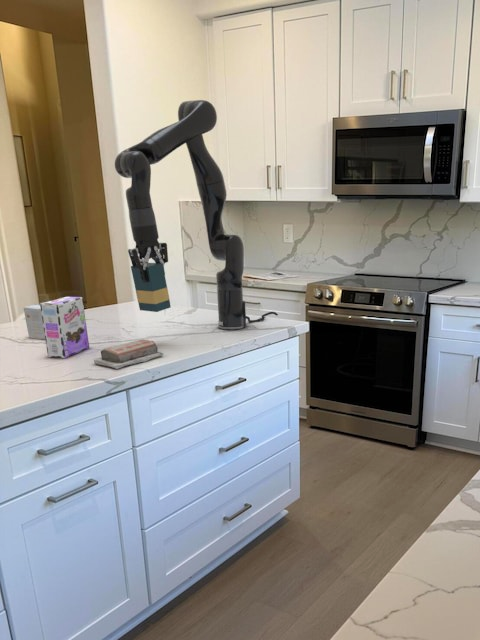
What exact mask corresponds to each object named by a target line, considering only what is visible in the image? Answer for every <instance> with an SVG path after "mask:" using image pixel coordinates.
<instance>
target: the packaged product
mask: <svg viewBox="0 0 480 640" xmlns="http://www.w3.org/2000/svg"><path fill="white" fill-rule="evenodd" d="M163 355H164V352H161V351H159V348H158V346H157V344H156V342H155V341H154V340H149V339H139V340H134V341H130V342H126V343H122V344H118V345H114V346H109V347H105V348H102V349H101V350H100V356H101V357H97V358H94V359H93V363H94V365H99V366H104V367H108V368H113V369H116V370H119V369H122V368H124V367H127V366H131V365H135V364H138V363H144V362H148V361H150V360H153V359H157V358H160V357H162V356H163Z"/></svg>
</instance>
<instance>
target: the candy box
mask: <svg viewBox="0 0 480 640" xmlns="http://www.w3.org/2000/svg"><path fill="white" fill-rule="evenodd" d="M39 305H40V307H41V313H42V320H43V327H44V334H45V346H46V352H47V357H48V358H56V359H57V358H58V359H66V358H68V357H71V356H74V355H76V354H79V353H81V352H83V351H86V350H88V349H90V344H89V336H88V328H87V321H86V315H85V307H84V298H83V297H82V296H64V297H60V298H57V299H53V300H48V301H45V302H44V301H43V302H40V303H39Z"/></svg>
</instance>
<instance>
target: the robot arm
mask: <svg viewBox="0 0 480 640" xmlns="http://www.w3.org/2000/svg"><path fill="white" fill-rule="evenodd" d="M177 109H178V110H177V118H178V119H177V120H178V121H176V122H174V123H172V124H170V125H167V126H164V127H162V128H159V129H158V130H156V131H154V132H153V133H151V134H150V135H148V136H147V137H146V138H144V139H143V140H142V141H140V142H139V143H136V144H134V145H132V146H130V147H128V148H125V149H124V150H122V151H121V152H120V153H118V154H117V155H116V157H115V160H114V169H115V171H116V173H117V174H118V175H119V176H120V177H122V178H125V179H131V182H130V183H131V185H130V187H128V188H127V189H126V190H125V199H126V204H127V208H128V219H129V223H130V228H131V233H132V238H133V241H134V242H135V247H134V248H129V249H128V250H127V252H128V256H129V259H130V263H131V266H133V268H134V269H139V271H140V275H141V280H142V281H143V282H149V278H148V273H147V270H146V267H147V263H150V262H149V260H150V259H151V260H153V261H154V263H163V268H164V269H165V264H167V263H169V254H168V244H167V243H166V242H160V241H159V238H160V237H159V231H158V224H157V220H156V214H155V211H154V207H153V203H152V198H151V180H152V179H151V178H152V177H151V176H152V168H151V166H152V165H156V164H158V163H159V162H160V161H162V160H163V159H165V158H166V157H168V156H169V155H171V153H173V152H174V151H176V150H177V149H179V148H180V147H181V146H183V145H186V147H187V151H188V155H189V158H190V161H191V162H190V163H191V165H192V169H193V174H194V176H195V177H194V178H195V182H196V183H195V184H196V188H197V191H198V195H199V199H200V202H201V206H202V212H203V217H204V221H205V226H206V233H207V242H208V246H209V250H210V254H211V256H212V258H214V260H217V261H221V262H225V264H224V268H223V269H222V270H219V271H216V273H215V279H216V296H217V315H218V321H217V323H218V328H219V329H221V330H226V331H227V330H228V331H231V330H232V331H234V330H240V329H244V328H247V322H248V323H258V322H261V321H264V320H265V317H266V316H270V315H275V316H279V313H277V312H276V311H269V312H266V313H264V314H262V315H261V317H260V318H257V319H251V317H249V316H247V314H246V301H245V300H244V292H243V274H244V270H245V268H244V263H245V262H244V261H245V260H244V259H245V247H244V242H243V239H242V238H241V237H240V236H239V235H237V234H233V233H232V234H231V233H225V231H224V226H223V212H224V208H225V205H226V200H227V188H226V183H225V179H224V174H223V172H222V170H221V168H220V166H219V165H218V163H217V161H215V159H214V158H213V156H212V155H211V153H210V152H209V150H208V147H207V145H206V143H205V139H204V134H206V133H208V132H211V131H212V130H213V129H214V128H215V127H216V125H217V120H218V114H217V111H216V108H215V106H214V105H213V104H212V103H211V102H210V101H208V100H204V99H197V100H195V99H194V100H186V101H182V102H181V103H180V104H179V106H178V108H177ZM142 265H143V266H142ZM164 274H165V275H166V271H165V270H164Z"/></svg>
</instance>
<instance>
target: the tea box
mask: <svg viewBox="0 0 480 640" xmlns="http://www.w3.org/2000/svg"><path fill="white" fill-rule="evenodd" d="M142 266H143V265H142ZM130 269H131V270H130V271H131V274H132V280H133V284H134V289H135V294H136V299H137V303H138V308H139V311H144V312H154V313H158V312H161V311H165V310H167V309H170V308H172V307H171V301H170V295H169V294H170V293H169V290H168V285H167V279H166V273H165V274H164V271H165V267H164V268H163V263H155V262H148V263H147V267H146V270H147V273H148V278H149V282H143V281H142V280H141V275H140V271H139V269H134V268H133V265H131V266H130Z"/></svg>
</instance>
